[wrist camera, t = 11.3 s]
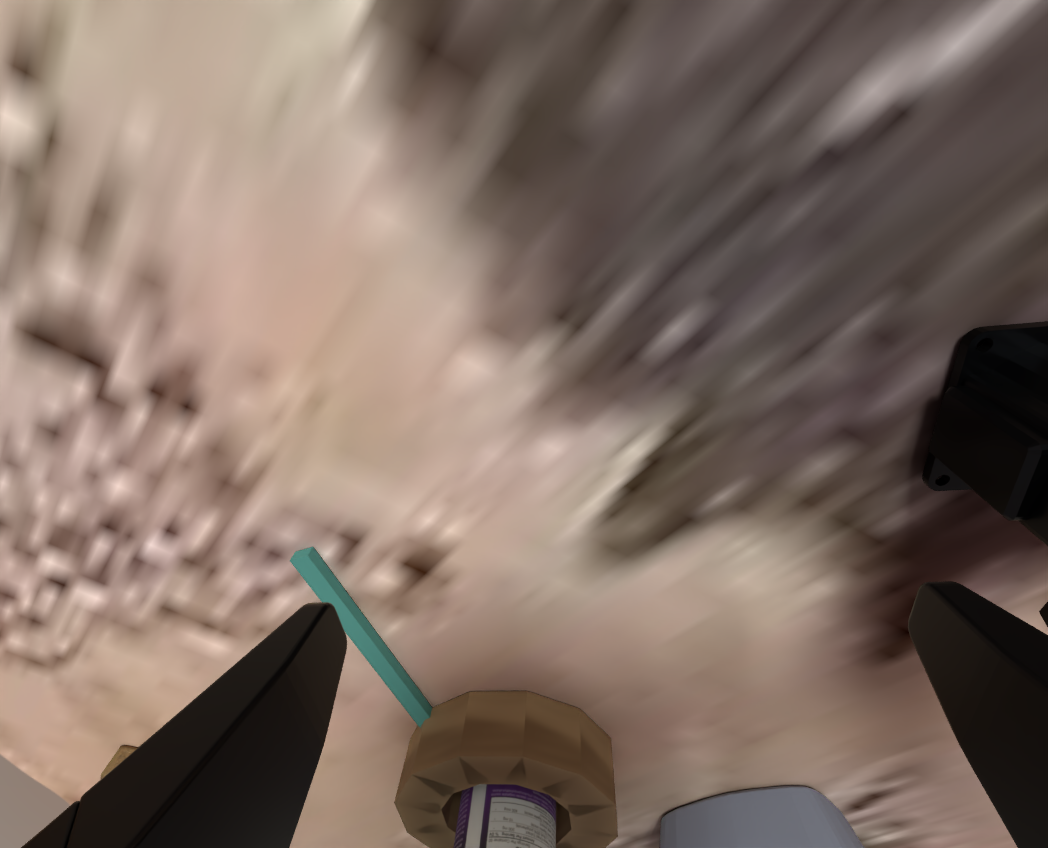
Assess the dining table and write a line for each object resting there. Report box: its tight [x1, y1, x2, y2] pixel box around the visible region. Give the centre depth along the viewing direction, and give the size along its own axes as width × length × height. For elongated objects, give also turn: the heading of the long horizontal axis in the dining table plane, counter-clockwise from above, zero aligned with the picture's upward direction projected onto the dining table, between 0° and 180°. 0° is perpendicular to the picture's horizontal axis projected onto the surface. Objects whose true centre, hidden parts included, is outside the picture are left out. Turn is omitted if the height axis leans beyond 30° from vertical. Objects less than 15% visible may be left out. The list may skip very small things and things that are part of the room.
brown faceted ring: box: [394, 691, 618, 848], centre depth 31 cm, size 12×12×4 cm
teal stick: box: [290, 547, 432, 727], centre depth 28 cm, size 14×1×1 cm, turn 22°
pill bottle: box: [453, 784, 556, 848], centre depth 28 cm, size 5×5×10 cm
